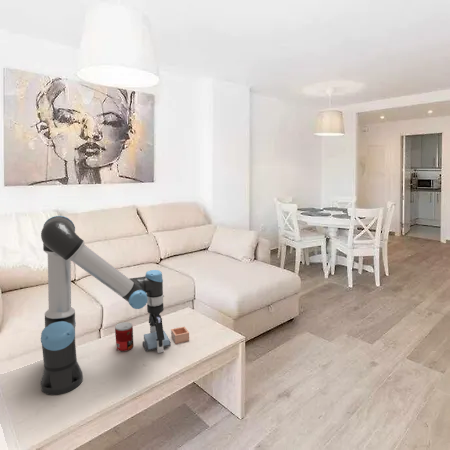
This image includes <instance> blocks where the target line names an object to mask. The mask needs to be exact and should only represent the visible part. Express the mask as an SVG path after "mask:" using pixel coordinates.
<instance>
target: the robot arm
mask: <svg viewBox="0 0 450 450" xmlns="http://www.w3.org/2000/svg"><path fill="white" fill-rule="evenodd" d="M40 238H41V241H42V245H43V246H42V248H43V249H42V250H43V252H44V253H46V254H47V284H48V285H47V286H48V292H47V293H48V296H47V297H48V309H47V310H46V311H45V312H44V328H43V329H42V331H41V333H40V334H41V335H40V343H41V347H42V349H41V350H42V359H43V360H42V361H43V368H44V369H43V372H42V376H41V379H40V390H41V391H42V393H44V394H46V395H51V396H54V395H55V396H56V395H61V394H66V393H68V392H71V391H72V390H74V389H76V388H78V387H79V386H80V384H82V382H83V380H84V375H83V371H82V368H81V366H80V364H79V362H78V360H77V349H76V348H77V346H76V310H75V308H73V307H72V265H71V264H72V263H74V264H75V265H77V266H78V267H80V268H81V269H83V270H84V271H85V272H86V273H88V274H89V275H90V276H92V277H93V278H95V279H96V280H97V281H99V282H100V283H101V284H103V285H104V286H106V287H107V288H108V289H110V290H111V291H112V292H114V293H116V294H117V295H118V296H120V297H121V298H122V299H124V301H127V302H128V304H129V305H130V307H131V308H132V309H135V310H140V309H143V308H144V307H146V310H147V313H148V314H149V316H148V324H149V333H153V332H156V334H157V339H156V341H157V349H156V352H157V354H160V353H164V348H163V340H164V339H165V338H164V332H163V330H164V327H163V326H164V325H163V318H162V316H161V313H163V312H164V308H165V307H164V297H165V295H164V292H163V291H164V284H163V282H164V279H163V273H162V271H160V270H159V269H152V270H147V271H146V272H145V275H144V276H139V277H131V278H130V277H128V276H126V275H125V274H123V272H121V271H120V270H118V269H117V268H116V267H114V266H113V265H112V264H110V263H109V261H107V260H105V259H104V258H103V257H102V256H100V255H99V254H98V253H96V252H95V251H94V250H92V249H91V248H89V246H86V245H85V241H84V239H83V238H81V237H80V236H79V235H78V234H77V233H76V226H75V224H74V222H73V221H72V220H71V219H70V218H68V217H67V216H64V215H55V216H52V217H49V218H48V219H47V220H46V221H45V222H44V224H43V227H42V229H41V231H40Z"/></svg>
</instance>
